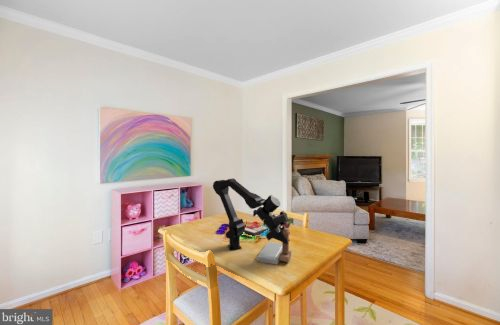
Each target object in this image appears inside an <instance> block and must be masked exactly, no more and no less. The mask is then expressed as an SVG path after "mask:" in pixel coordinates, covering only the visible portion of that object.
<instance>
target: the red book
mask: <svg viewBox="0 0 500 325" xmlns="http://www.w3.org/2000/svg"><path fill="white" fill-rule="evenodd" d="M266 230H268V231H269V228H268V227H267V226H264V225H259V224H253V225H249V226H245V230H244V232H245V233H246V234H248V235H252V236H255V235H260V234H261V233H263V232H264V231H266Z"/></svg>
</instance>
